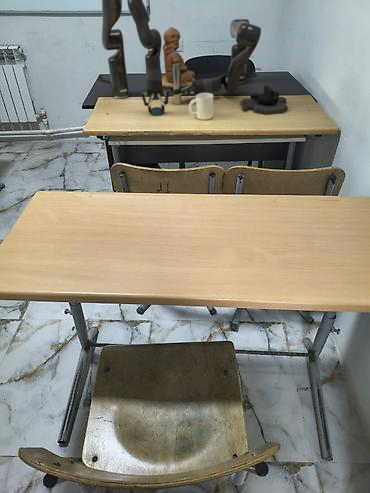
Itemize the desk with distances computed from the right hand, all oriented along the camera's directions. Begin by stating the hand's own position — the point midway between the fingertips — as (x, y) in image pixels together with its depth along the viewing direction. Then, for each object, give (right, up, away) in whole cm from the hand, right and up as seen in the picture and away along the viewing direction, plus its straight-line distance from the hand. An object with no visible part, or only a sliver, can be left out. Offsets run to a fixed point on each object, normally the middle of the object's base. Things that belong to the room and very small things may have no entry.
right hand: (172, 91), depth 190 cm
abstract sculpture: (+49, -10, -4) cm, 50 cm away
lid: (-8, -13, -8) cm, 17 cm away
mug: (+15, -19, -13) cm, 27 cm away
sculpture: (+2, +20, +34) cm, 39 cm away
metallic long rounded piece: (+3, -4, +5) cm, 7 cm away
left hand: (-8, -14, -7) cm, 18 cm away
